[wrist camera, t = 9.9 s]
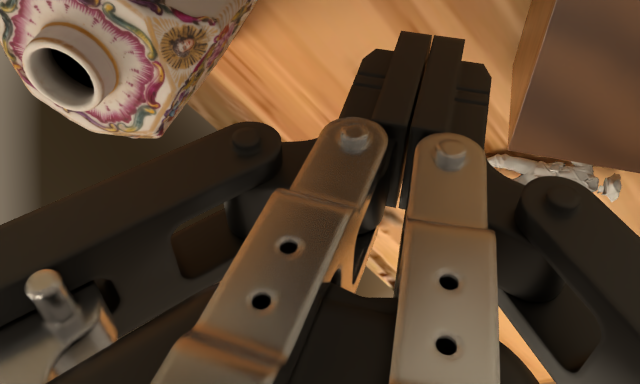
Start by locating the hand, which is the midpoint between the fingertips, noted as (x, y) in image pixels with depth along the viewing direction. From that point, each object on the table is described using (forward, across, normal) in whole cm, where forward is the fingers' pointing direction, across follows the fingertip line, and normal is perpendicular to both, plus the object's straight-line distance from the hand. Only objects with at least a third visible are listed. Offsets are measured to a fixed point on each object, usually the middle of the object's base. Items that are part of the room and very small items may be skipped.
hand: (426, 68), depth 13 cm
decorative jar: (+27, +20, +10) cm, 35 cm away
